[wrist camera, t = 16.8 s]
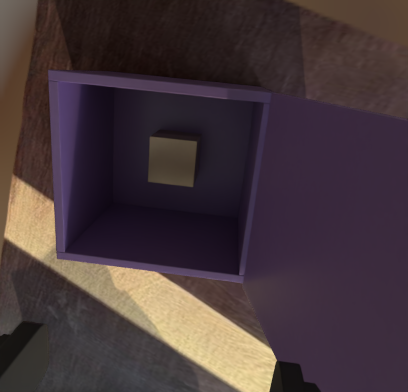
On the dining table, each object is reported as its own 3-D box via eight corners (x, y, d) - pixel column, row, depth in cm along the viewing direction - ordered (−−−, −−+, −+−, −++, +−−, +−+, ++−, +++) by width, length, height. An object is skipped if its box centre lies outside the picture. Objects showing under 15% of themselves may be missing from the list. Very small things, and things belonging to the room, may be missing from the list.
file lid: (364, 547, 14) (381, 543, 15) (522, 144, 9) (548, 146, 9) (242, 286, 32) (250, 286, 32) (271, 92, 26) (281, 93, 26)
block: (159, 129, 42) (149, 136, 37) (201, 133, 42) (197, 141, 37) (157, 170, 43) (147, 182, 39) (197, 175, 43) (193, 187, 38)
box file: (108, 205, 46) (56, 259, 33) (109, 71, 41) (47, 69, 27) (243, 221, 45) (246, 283, 32) (262, 86, 40) (276, 92, 27)
